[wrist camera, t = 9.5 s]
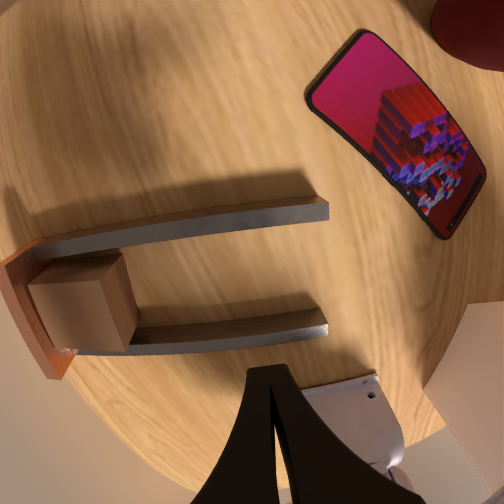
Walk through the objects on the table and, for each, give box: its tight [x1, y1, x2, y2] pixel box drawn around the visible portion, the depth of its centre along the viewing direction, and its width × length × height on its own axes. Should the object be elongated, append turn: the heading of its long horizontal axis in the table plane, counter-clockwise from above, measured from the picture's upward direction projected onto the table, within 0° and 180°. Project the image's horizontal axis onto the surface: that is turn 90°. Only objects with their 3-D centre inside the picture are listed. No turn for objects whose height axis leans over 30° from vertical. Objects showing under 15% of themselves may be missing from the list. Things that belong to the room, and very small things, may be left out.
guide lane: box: [0, 196, 329, 380], centre depth 16 cm, size 20×9×5 cm, turn 96°
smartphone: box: [306, 31, 487, 240], centre depth 15 cm, size 8×1×15 cm
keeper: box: [28, 254, 141, 351], centre depth 16 cm, size 6×5×4 cm
